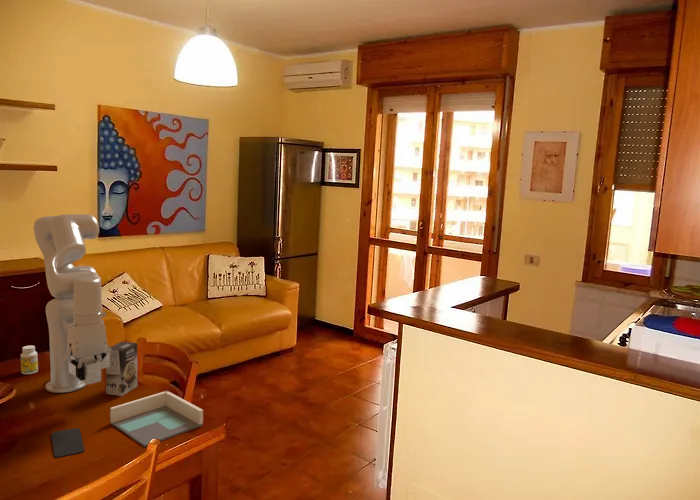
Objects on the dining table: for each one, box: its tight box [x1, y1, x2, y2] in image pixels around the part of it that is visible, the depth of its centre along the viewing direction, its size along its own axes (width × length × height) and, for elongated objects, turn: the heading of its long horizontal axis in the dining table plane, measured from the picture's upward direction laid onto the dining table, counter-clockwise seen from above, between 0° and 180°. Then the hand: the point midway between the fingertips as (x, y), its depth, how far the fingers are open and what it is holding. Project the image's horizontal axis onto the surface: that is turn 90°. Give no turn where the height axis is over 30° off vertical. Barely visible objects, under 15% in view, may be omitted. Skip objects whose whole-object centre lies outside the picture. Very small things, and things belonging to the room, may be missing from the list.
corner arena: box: [109, 390, 204, 448], centre depth 164 cm, size 20×19×5 cm
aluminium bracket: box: [69, 353, 110, 386], centre depth 167 cm, size 13×11×6 cm
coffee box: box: [105, 341, 138, 397], centre depth 186 cm, size 9×6×16 cm
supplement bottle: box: [20, 344, 39, 375], centre depth 199 cm, size 5×5×10 cm
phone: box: [50, 427, 85, 459], centre depth 151 cm, size 7×1×15 cm
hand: (88, 376), depth 163 cm, fingers closed on aluminium bracket, 4 cm apart
